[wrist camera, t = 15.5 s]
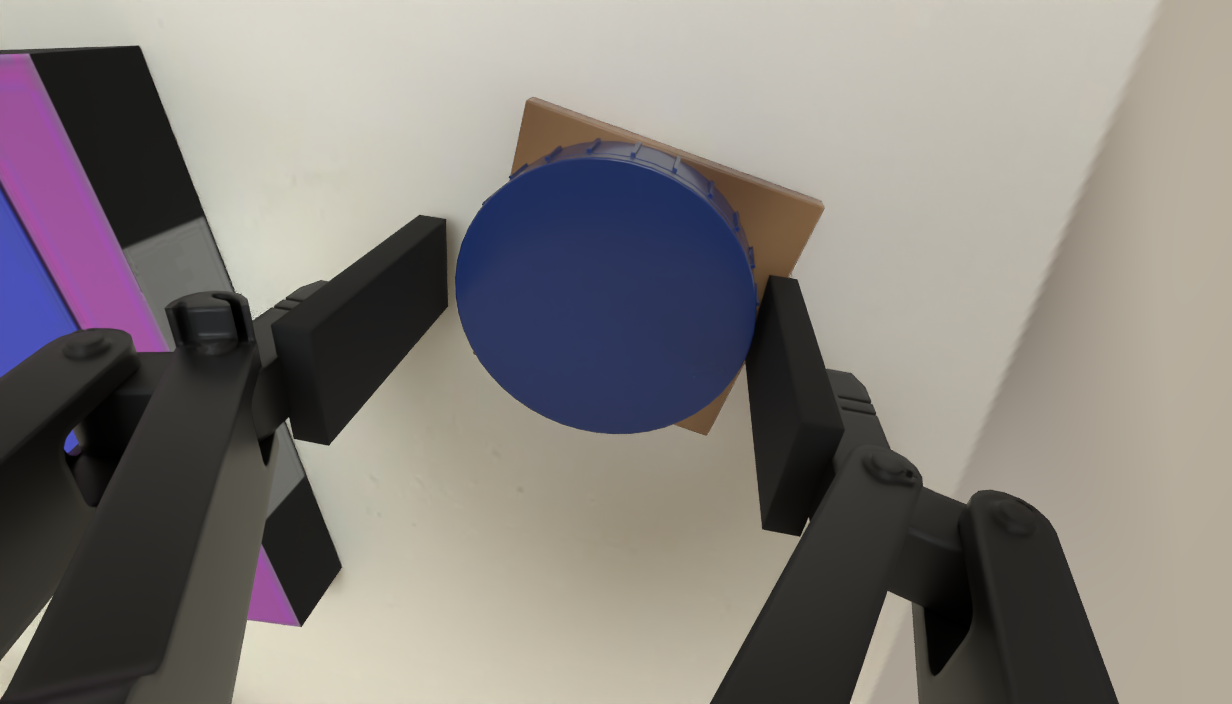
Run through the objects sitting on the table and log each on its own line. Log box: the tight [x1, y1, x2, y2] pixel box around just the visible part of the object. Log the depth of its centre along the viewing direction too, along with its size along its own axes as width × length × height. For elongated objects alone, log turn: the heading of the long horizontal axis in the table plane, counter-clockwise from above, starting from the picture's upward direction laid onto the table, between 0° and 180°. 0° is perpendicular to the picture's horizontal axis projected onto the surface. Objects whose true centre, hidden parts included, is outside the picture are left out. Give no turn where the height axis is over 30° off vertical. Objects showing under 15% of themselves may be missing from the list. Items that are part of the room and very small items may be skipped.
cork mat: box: [473, 97, 824, 436], centre depth 17 cm, size 8×8×1 cm
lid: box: [455, 138, 759, 434], centre depth 16 cm, size 8×8×2 cm
